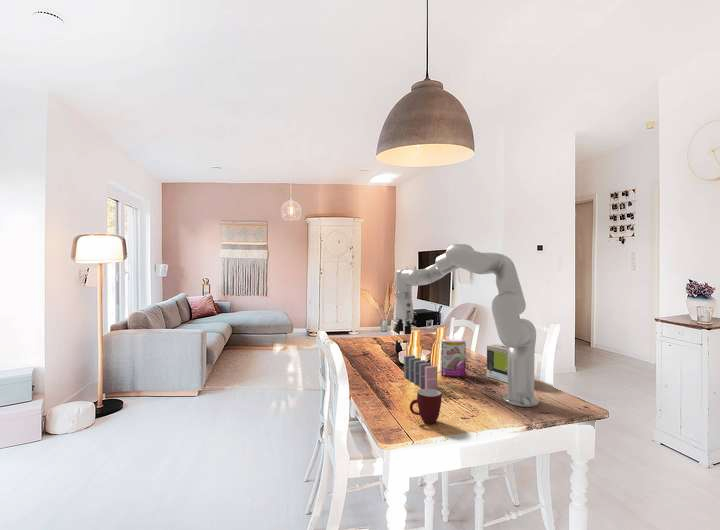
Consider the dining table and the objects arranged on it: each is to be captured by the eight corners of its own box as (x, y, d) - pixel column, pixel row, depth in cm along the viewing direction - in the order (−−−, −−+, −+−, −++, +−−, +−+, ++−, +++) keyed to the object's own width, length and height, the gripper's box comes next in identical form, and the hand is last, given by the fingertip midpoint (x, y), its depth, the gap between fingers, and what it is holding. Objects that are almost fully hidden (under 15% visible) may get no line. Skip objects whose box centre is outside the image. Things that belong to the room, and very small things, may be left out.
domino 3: (425, 383, 173) (425, 361, 173) (415, 385, 172) (415, 362, 172) (423, 382, 175) (423, 360, 175) (413, 383, 173) (413, 361, 173)
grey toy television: (528, 382, 175) (528, 348, 175) (512, 385, 170) (512, 351, 170) (501, 373, 188) (501, 342, 188) (486, 376, 183) (486, 344, 183)
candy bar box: (441, 376, 184) (441, 341, 184) (440, 373, 189) (440, 339, 189) (466, 377, 183) (465, 341, 183) (464, 373, 188) (464, 339, 188)
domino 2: (420, 380, 178) (420, 358, 178) (410, 381, 176) (410, 359, 176) (418, 379, 180) (418, 357, 179) (408, 380, 178) (408, 358, 178)
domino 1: (415, 377, 182) (415, 356, 182) (405, 378, 181) (405, 357, 181) (413, 376, 184) (413, 355, 184) (404, 377, 182) (403, 356, 182)
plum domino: (437, 390, 164) (437, 366, 164) (426, 391, 163) (426, 367, 163) (435, 389, 166) (435, 365, 166) (424, 390, 164) (424, 366, 164)
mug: (413, 428, 128) (413, 397, 128) (407, 418, 136) (407, 389, 136) (445, 426, 129) (444, 395, 129) (437, 416, 137) (436, 387, 137)
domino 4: (431, 386, 169) (431, 363, 169) (421, 388, 167) (420, 364, 167) (429, 385, 171) (429, 362, 170) (419, 387, 169) (418, 363, 169)
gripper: (419, 296, 180) (419, 335, 181) (402, 293, 197) (402, 329, 197) (405, 297, 178) (405, 336, 178) (389, 294, 194) (389, 330, 194)
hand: (403, 332), depth 188 cm, fingers open, 7 cm apart
